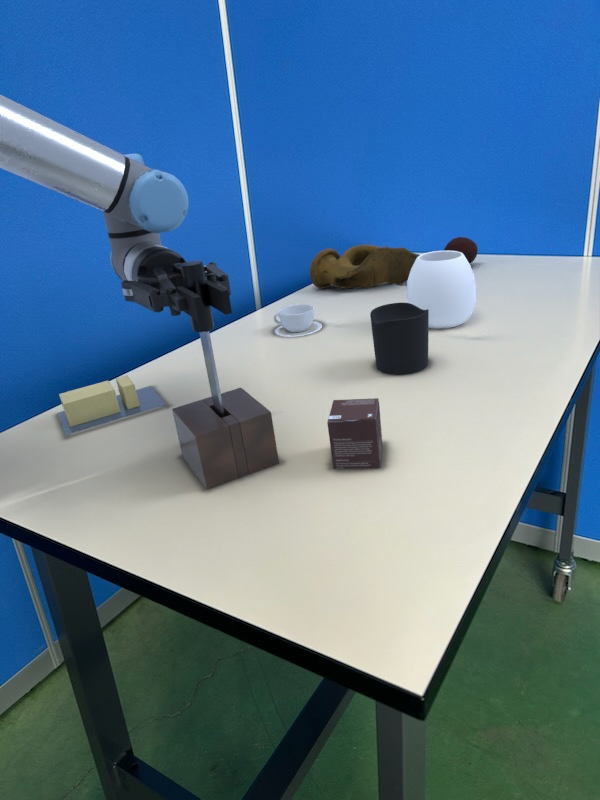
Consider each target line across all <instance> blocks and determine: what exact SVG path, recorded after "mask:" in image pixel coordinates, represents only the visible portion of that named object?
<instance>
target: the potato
mask: <svg viewBox="0 0 600 800" xmlns="http://www.w3.org/2000/svg"><path fill="white" fill-rule="evenodd" d="M443 251H458V252H461V253H463V254H464V256H465V257H466V259H467V261H468V262H469V264H470V265H471V264H472V263H473V262H474V261H475V260H476V258H477V255H478V251H479V249H478V245H477V244H476V242H475V241H474V240H473V239H471V238H469V237H465V236H458V237H457V236H456V237H453V238H452V239H451V240H449V241H448V242H447V243H446V245H445V247H444V248H443Z"/></svg>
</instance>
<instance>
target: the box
mask: <svg viewBox="0 0 600 800" xmlns="http://www.w3.org/2000/svg"><path fill="white" fill-rule="evenodd" d="M326 422H327V430H328V431H327V433H328V437H329V444H330V453H331V461H332V467H333V469H334V470H358V469H360V470H361V469H362V470H363V469H381V468H382V457H383V445H384V444H383V434H382V423H381V422H382V421H381V408H380V400H379V398H378V397H375V398H355V399H354V398H352V399H333V401H332V404H331V408H330V411H329V415H328V419H327V421H326Z"/></svg>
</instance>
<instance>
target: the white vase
mask: <svg viewBox="0 0 600 800" xmlns="http://www.w3.org/2000/svg"><path fill="white" fill-rule="evenodd" d="M419 255H420V256H418V257H417V258H416V260H415V262H414V264H413V266H412V268H411V271H410V274H409V277H408V280H407V281H406V282H407V284H406V286H407V287H406V301H407V302H406V303H410V304H413V305H415V306H417V307H419V308H420V309H422V310H427V309H428V310H429V329H436V330H438V329H440V330H442V329H451V328H455V327H459V326H461V325H463V324H464V323H466V322H467V321H468V320H470V318H471V316H472V315H473V314H474V310H475V308H476V305H477V283H476V276H475V273H474V271H473V268H472V266H471V263H470V264H469V262H468V261H467V259H466V257H465V256H464V254H463V253H461V252H458V251H444V250H433V251H429V252H425V253H421V254H419Z"/></svg>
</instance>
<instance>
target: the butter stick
mask: <svg viewBox="0 0 600 800" xmlns="http://www.w3.org/2000/svg"><path fill="white" fill-rule="evenodd" d="M58 395H59V396H58V397H59V399H60V403H61V405H62V409H63V411H64V412H65V415H66V418H67V420H68V423H69V425H70V427H72V426H75V425H79V424H82V423H85V422H89V421H92V420H95V419H98V418H102V417H105V416H108V415H112V414H115V413H118V412H121V411H120V408H119V404H118V400H117V397H116V396H117V393H116V390H115V388H114V386H113V385H112V383H111V382H110V381H109V380H104V381H101V382H97V383H94V384H91V385H87V386H83V387H80V388H76V389H72V390H67V391H66V392H62V393H58Z"/></svg>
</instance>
